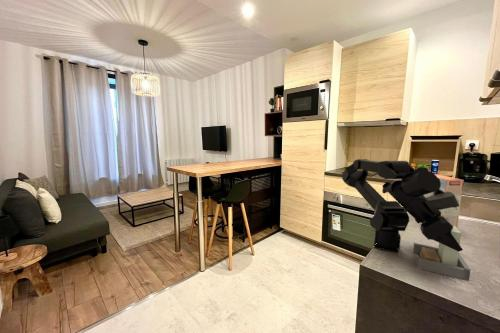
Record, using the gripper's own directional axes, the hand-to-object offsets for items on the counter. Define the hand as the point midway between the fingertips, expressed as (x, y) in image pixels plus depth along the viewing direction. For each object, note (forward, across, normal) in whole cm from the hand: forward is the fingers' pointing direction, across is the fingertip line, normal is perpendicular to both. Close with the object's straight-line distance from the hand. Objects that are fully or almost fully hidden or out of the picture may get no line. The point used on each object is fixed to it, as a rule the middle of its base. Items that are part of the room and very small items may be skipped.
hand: (455, 243), depth 58 cm
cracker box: (+7, +34, +3) cm, 35 cm away
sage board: (+4, 0, +6) cm, 7 cm away
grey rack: (+3, 0, +7) cm, 7 cm away
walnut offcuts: (+2, 0, +9) cm, 9 cm away
